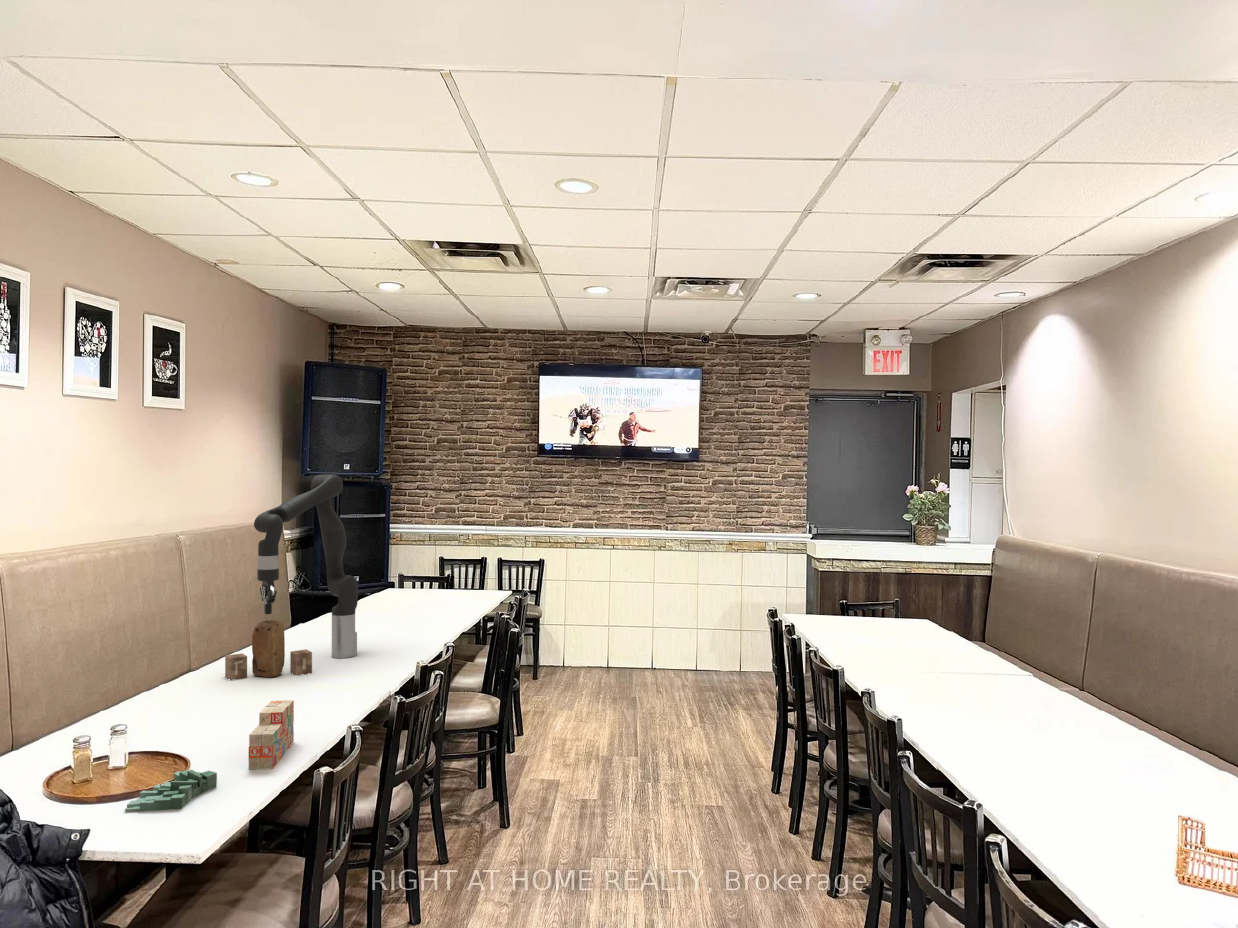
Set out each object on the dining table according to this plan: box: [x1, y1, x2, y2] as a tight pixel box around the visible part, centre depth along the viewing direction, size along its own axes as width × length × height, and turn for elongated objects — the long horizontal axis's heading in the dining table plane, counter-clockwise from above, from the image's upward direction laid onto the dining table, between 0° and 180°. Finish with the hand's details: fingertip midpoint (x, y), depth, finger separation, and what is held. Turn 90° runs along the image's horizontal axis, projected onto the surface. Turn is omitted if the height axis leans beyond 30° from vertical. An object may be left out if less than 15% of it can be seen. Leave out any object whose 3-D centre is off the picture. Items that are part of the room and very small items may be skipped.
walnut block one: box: [289, 648, 313, 676], centre depth 319 cm, size 6×6×8 cm
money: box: [124, 769, 218, 813], centre depth 203 cm, size 20×16×5 cm
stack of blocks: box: [248, 699, 295, 770], centre depth 230 cm, size 21×6×12 cm, turn 7°
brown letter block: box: [224, 652, 248, 681], centre depth 312 cm, size 6×6×8 cm
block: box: [251, 619, 286, 678], centre depth 315 cm, size 11×8×20 cm
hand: (267, 613), depth 315 cm, fingers closed
